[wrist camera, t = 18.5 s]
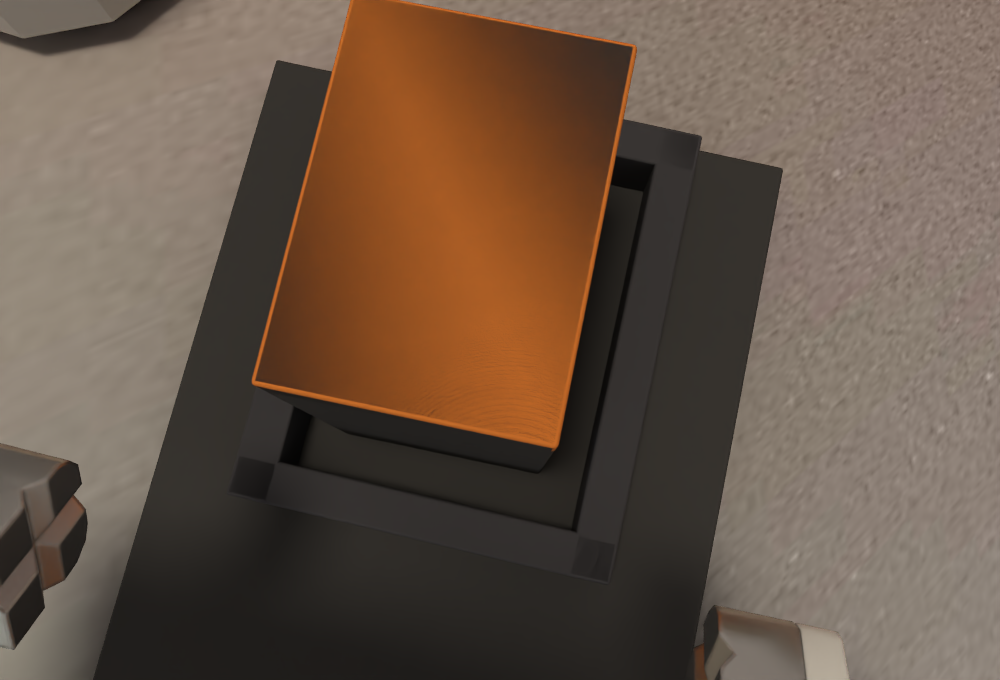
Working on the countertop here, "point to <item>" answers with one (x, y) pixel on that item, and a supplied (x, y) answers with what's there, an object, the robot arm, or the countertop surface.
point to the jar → (57, 15)
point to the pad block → (448, 232)
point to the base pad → (455, 462)
